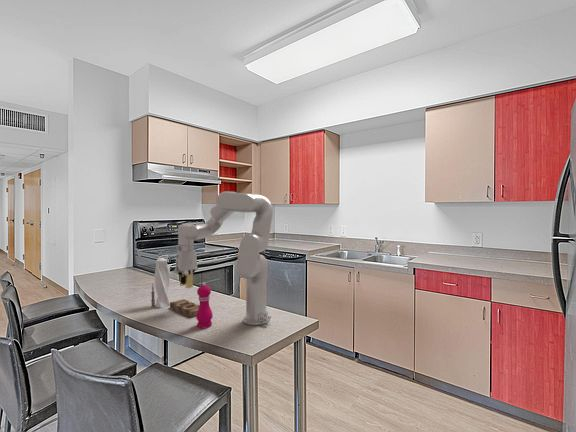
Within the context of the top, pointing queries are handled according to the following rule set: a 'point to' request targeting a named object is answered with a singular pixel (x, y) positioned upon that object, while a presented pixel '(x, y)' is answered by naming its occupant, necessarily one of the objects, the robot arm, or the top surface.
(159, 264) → the skyscraper
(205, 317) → the pepper mill
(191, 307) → the rail
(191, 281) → the tan rectangular block
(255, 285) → the robot arm
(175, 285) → the top surface
